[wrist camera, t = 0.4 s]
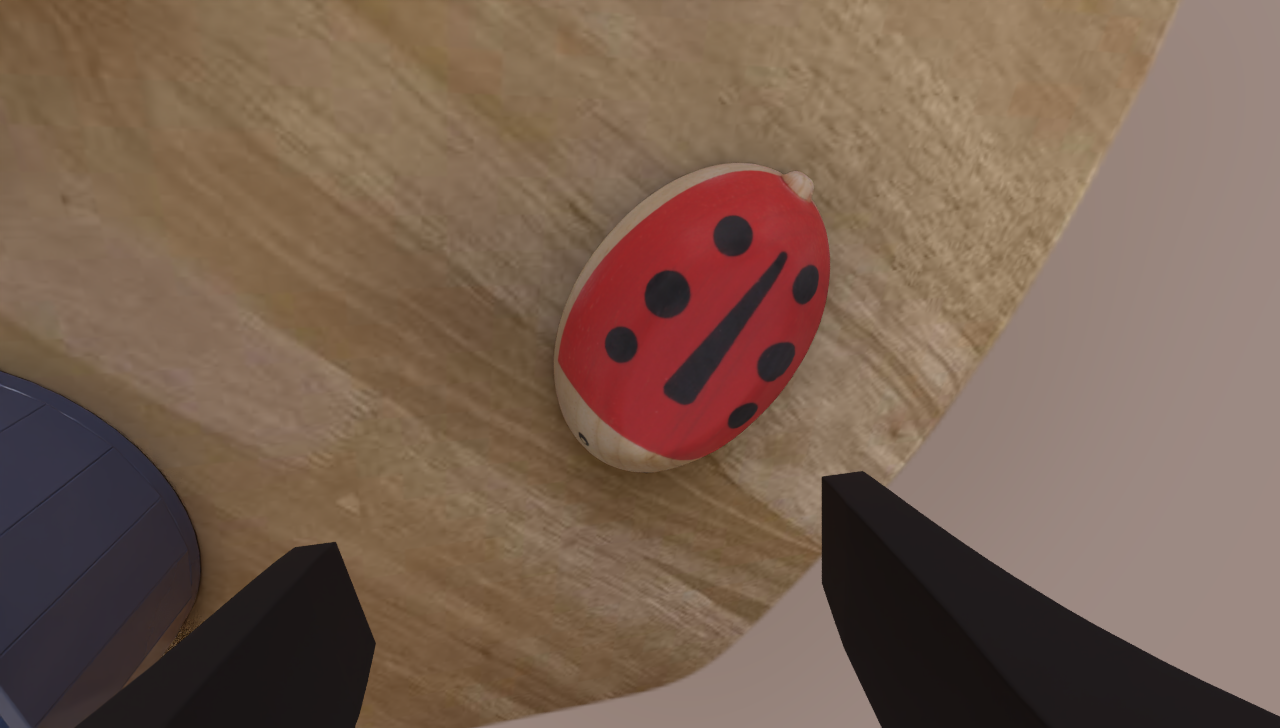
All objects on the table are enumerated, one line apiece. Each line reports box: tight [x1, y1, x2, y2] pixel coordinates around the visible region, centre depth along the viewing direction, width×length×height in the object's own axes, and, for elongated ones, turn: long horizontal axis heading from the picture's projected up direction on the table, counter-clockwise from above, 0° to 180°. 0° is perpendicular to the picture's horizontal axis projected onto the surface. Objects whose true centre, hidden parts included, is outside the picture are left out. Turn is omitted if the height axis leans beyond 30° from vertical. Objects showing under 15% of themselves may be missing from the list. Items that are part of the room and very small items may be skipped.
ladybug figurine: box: [554, 163, 830, 473], centre depth 18 cm, size 7×10×4 cm
